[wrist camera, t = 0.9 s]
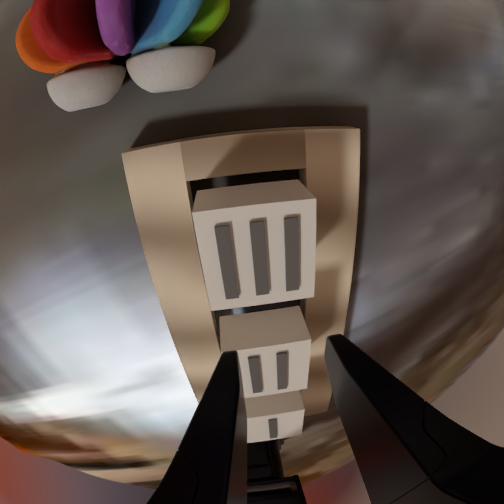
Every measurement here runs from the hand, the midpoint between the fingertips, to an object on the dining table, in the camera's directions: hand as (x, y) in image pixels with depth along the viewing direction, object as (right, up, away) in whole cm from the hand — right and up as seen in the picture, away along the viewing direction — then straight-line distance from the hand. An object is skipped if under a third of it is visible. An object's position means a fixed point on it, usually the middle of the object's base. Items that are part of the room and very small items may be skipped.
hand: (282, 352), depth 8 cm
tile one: (0, -10, +15) cm, 18 cm away
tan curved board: (0, -2, +13) cm, 13 cm away
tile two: (0, -3, +11) cm, 12 cm away
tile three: (-1, +4, +7) cm, 8 cm away
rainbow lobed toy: (-7, +15, +3) cm, 17 cm away
